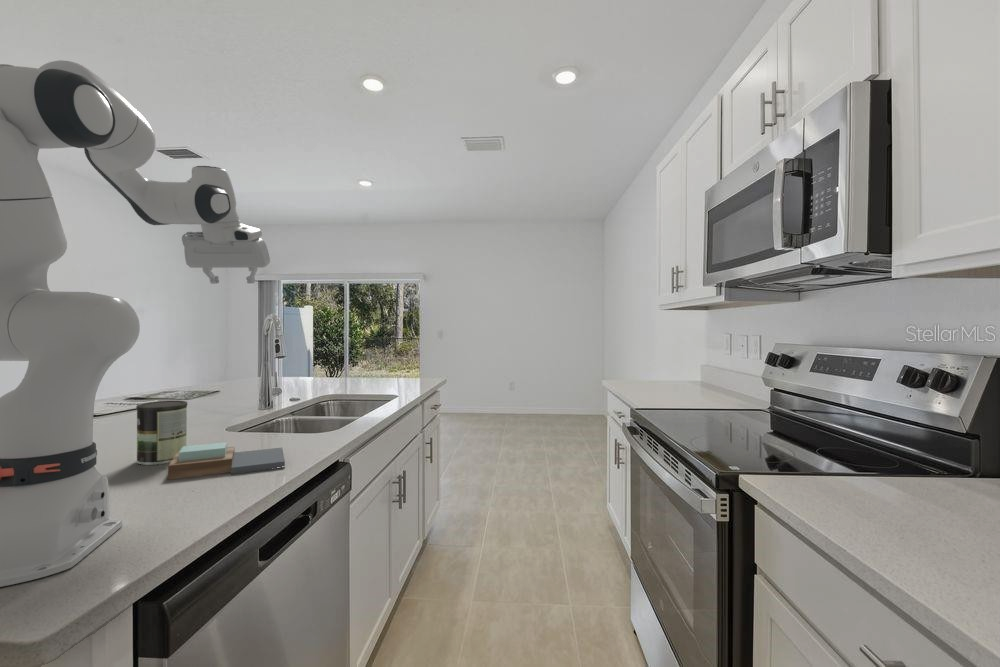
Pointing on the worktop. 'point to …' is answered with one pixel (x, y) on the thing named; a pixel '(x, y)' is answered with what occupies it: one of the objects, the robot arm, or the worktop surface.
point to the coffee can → (160, 431)
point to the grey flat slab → (257, 460)
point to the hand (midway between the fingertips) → (233, 283)
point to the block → (203, 451)
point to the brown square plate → (200, 466)
